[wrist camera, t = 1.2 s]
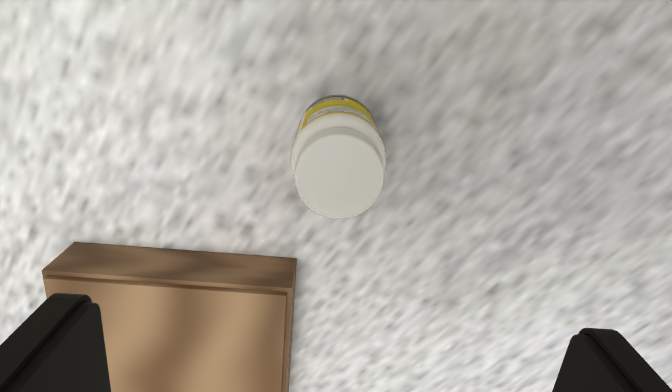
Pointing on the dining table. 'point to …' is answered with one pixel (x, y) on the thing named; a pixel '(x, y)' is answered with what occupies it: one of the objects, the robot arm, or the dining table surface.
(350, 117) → the supplement bottle
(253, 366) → the walnut stand
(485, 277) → the dining table surface
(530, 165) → the dining table surface
